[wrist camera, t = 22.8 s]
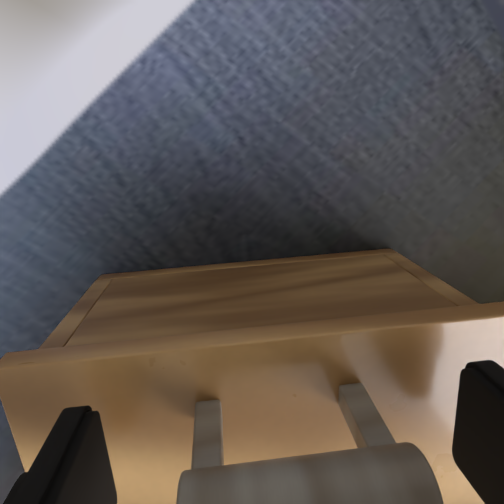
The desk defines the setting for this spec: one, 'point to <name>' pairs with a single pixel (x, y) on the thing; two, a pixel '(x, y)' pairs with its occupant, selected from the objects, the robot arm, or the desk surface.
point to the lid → (269, 408)
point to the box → (250, 296)
